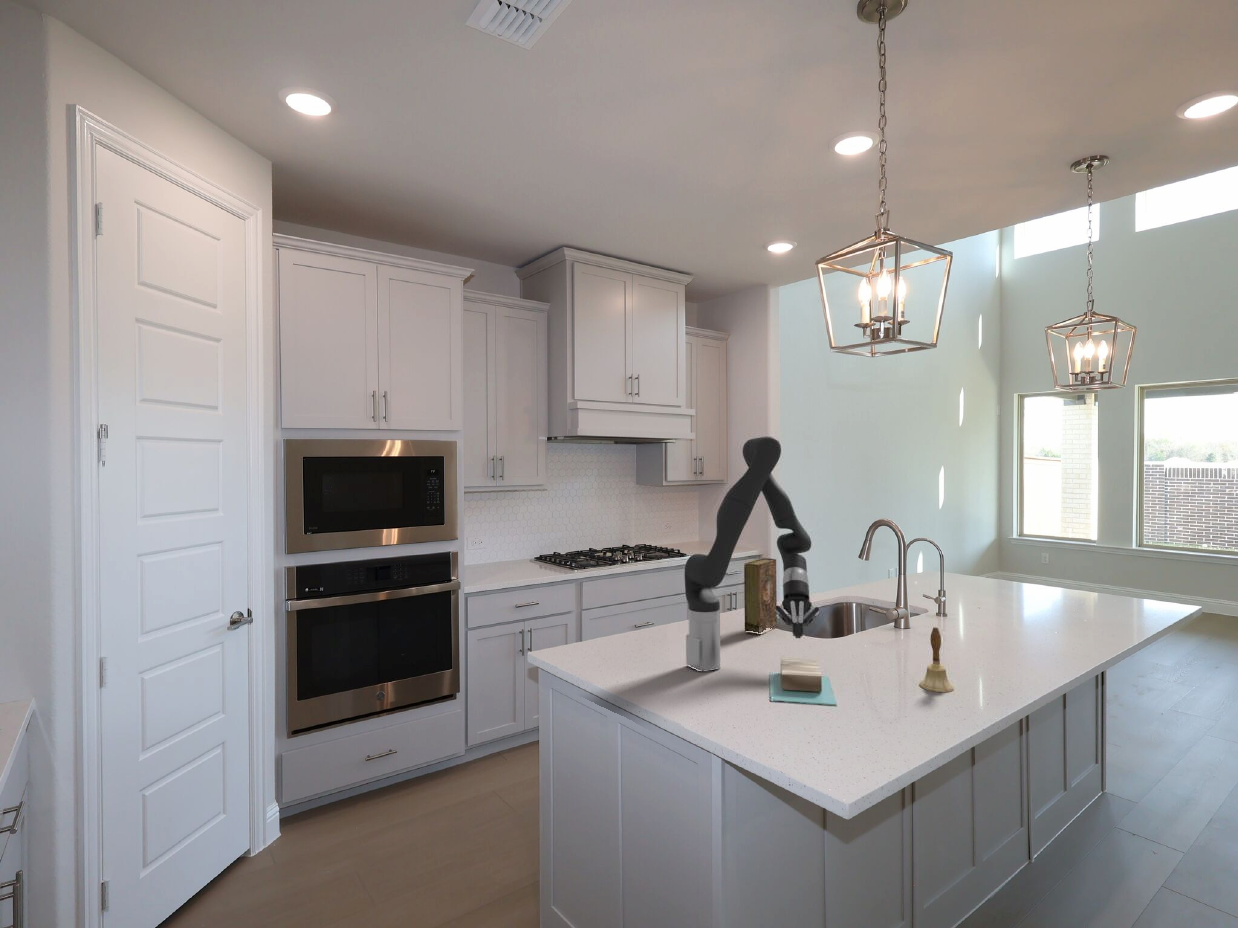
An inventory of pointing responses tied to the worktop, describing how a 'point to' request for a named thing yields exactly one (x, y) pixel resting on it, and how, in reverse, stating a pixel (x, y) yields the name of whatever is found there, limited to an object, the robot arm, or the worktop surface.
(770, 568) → the book
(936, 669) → the hand bell
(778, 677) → the mat
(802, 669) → the block
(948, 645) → the worktop surface
